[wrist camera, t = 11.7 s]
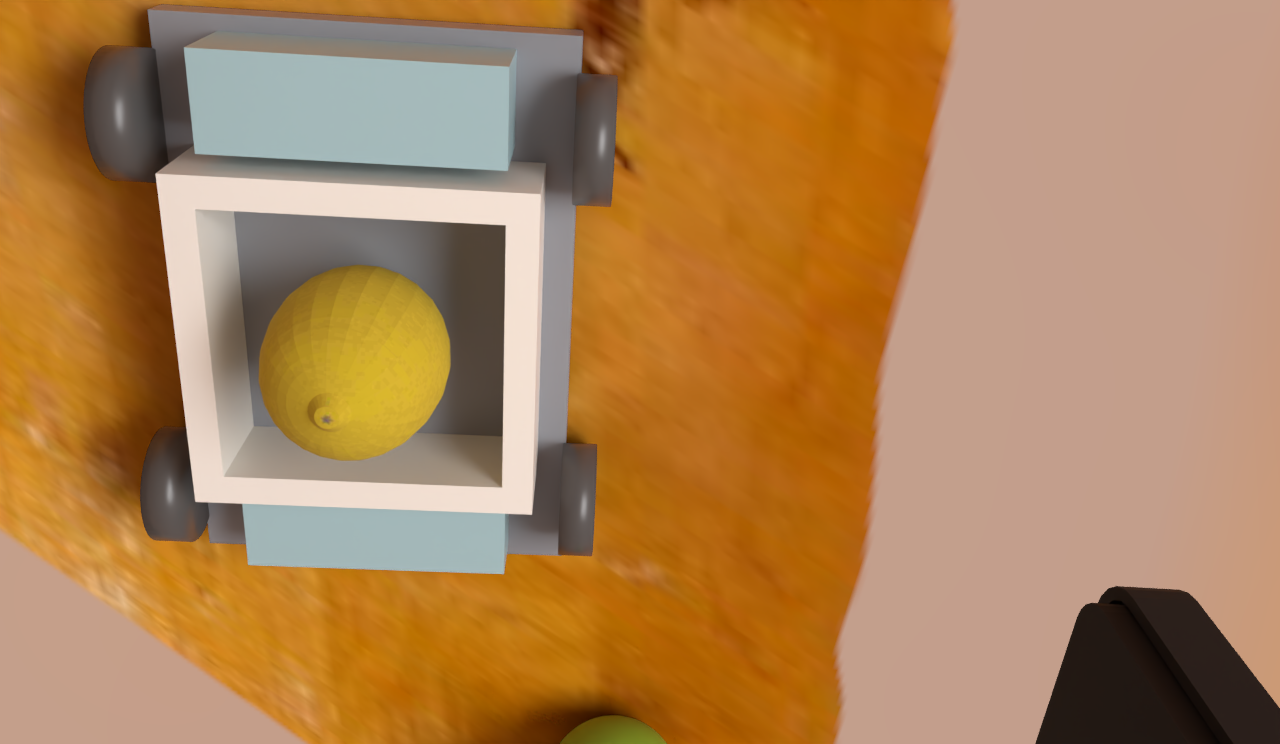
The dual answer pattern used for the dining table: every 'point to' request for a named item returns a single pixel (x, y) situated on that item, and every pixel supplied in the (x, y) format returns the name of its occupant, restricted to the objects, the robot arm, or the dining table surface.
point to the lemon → (354, 362)
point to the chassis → (375, 236)
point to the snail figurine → (613, 732)
